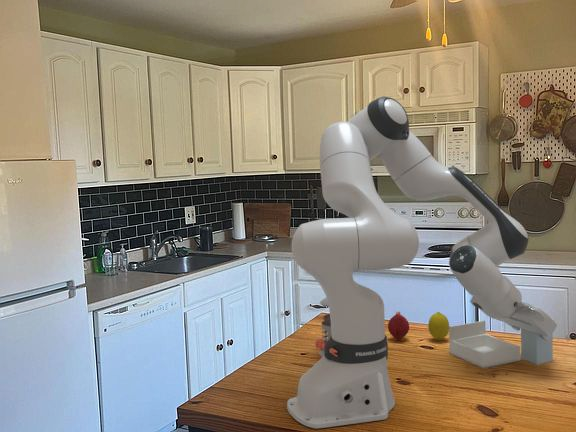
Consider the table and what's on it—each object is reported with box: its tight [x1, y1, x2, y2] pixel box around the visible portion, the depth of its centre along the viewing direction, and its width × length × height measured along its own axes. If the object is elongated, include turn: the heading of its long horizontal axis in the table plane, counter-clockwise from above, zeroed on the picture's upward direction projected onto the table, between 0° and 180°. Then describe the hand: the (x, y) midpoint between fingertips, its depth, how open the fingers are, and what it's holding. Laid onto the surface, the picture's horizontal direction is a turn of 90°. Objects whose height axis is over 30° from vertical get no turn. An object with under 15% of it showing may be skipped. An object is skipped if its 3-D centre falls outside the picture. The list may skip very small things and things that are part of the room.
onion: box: [387, 310, 410, 341], centre depth 164 cm, size 6×6×8 cm
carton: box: [520, 328, 554, 365], centre depth 144 cm, size 5×5×10 cm
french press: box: [318, 297, 332, 358], centre depth 154 cm, size 10×12×25 cm
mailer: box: [448, 320, 521, 370], centre depth 147 cm, size 11×13×7 cm
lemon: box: [427, 311, 450, 341], centre depth 162 cm, size 6×6×8 cm
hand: (532, 332), depth 144 cm, fingers open, 8 cm apart
